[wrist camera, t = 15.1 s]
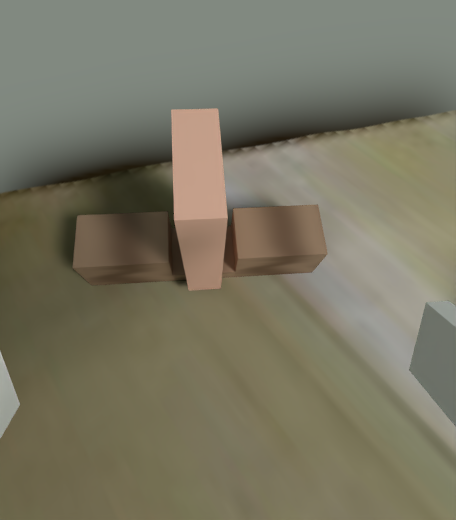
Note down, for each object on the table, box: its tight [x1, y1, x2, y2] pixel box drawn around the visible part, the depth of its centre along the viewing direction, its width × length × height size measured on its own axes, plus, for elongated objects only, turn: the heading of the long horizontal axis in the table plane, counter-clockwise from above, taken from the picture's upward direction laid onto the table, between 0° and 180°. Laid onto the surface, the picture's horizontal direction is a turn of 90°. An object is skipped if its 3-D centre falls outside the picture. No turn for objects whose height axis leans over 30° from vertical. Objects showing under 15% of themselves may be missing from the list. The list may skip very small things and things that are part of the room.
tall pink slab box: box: [171, 109, 228, 290], centre depth 27 cm, size 3×8×14 cm, turn 4°
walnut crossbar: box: [73, 205, 328, 285], centre depth 33 cm, size 22×5×5 cm, turn 94°
